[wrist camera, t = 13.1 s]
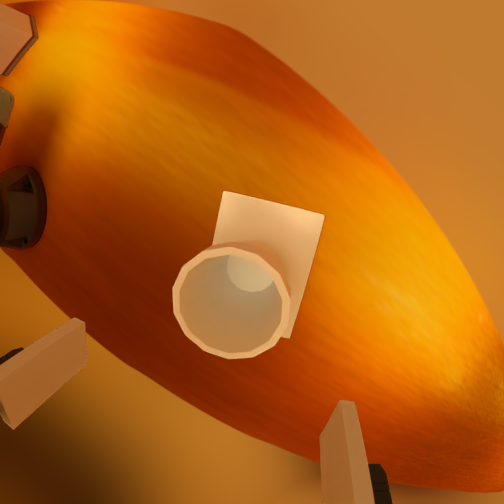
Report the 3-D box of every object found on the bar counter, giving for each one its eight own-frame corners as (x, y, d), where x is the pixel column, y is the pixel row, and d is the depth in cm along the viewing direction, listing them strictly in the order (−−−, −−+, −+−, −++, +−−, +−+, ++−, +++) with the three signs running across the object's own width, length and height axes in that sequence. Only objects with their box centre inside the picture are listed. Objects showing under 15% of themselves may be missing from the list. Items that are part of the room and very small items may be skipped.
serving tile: (202, 310, 39) (199, 314, 37) (226, 190, 35) (223, 190, 34) (289, 333, 37) (289, 338, 36) (323, 214, 34) (325, 215, 32)
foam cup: (302, 240, 33) (307, 269, 21) (279, 312, 36) (271, 371, 23) (223, 217, 34) (183, 232, 22) (206, 289, 36) (164, 336, 24)
